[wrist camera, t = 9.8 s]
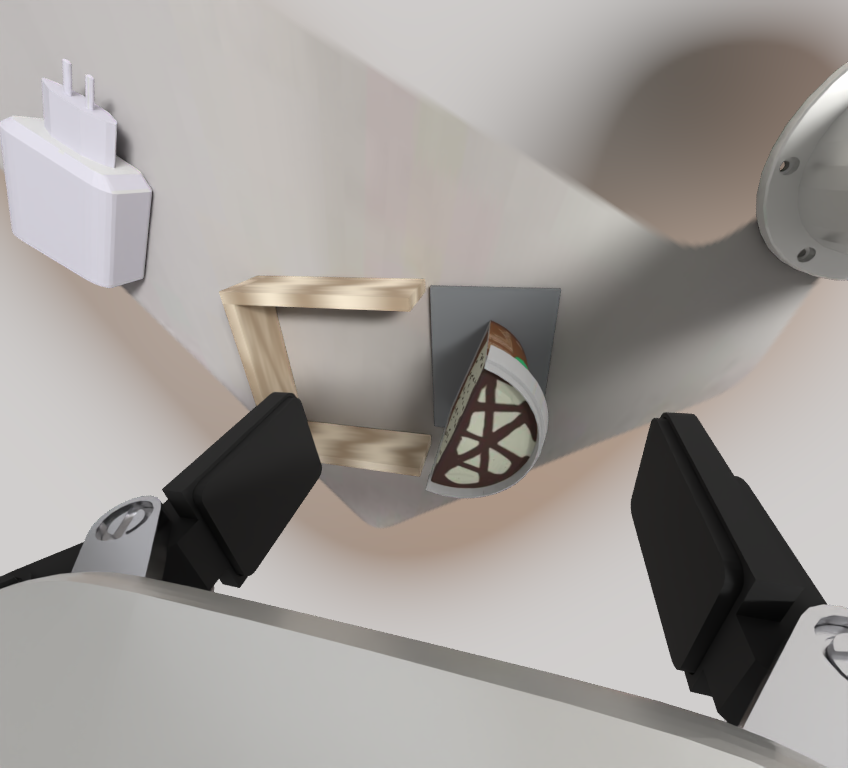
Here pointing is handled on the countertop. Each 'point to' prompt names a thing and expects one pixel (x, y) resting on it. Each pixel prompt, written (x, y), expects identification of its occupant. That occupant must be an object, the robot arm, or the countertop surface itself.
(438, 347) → the mat
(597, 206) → the countertop surface
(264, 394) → the open box
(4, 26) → the countertop surface
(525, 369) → the food container
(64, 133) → the charger
